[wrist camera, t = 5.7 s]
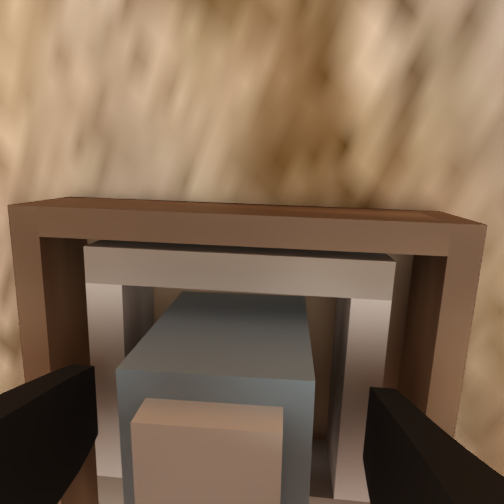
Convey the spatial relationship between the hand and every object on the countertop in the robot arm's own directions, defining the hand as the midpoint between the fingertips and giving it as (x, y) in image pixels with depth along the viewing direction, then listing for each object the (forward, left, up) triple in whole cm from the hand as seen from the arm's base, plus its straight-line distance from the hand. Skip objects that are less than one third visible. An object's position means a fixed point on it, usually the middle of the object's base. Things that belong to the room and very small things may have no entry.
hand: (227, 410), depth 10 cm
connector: (0, 0, -3) cm, 3 cm away
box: (-3, 0, -4) cm, 5 cm away
